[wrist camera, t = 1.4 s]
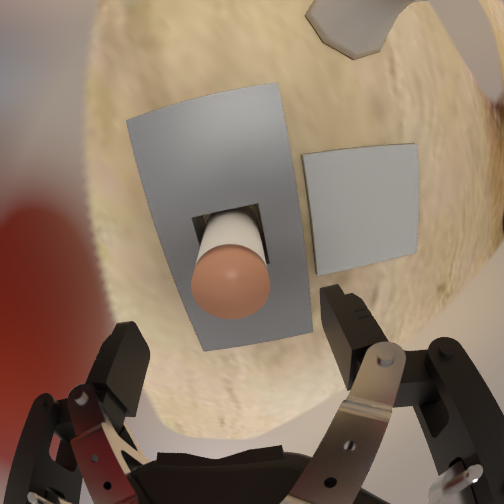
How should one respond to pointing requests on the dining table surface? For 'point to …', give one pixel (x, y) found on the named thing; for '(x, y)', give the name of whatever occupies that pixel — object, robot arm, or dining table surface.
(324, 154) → the mat
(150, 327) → the dining table surface
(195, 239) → the grey socket block
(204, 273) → the plug
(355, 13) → the flask
